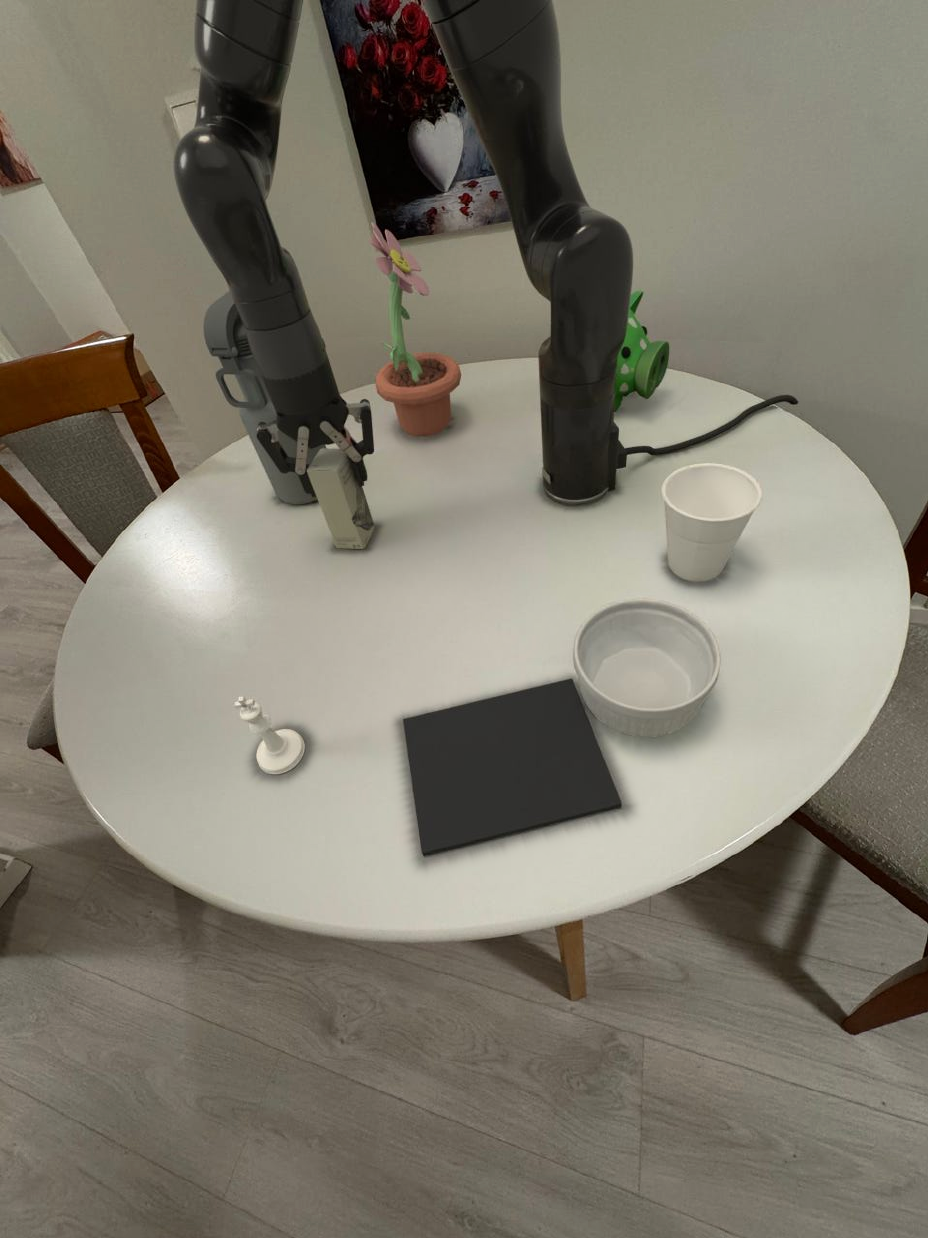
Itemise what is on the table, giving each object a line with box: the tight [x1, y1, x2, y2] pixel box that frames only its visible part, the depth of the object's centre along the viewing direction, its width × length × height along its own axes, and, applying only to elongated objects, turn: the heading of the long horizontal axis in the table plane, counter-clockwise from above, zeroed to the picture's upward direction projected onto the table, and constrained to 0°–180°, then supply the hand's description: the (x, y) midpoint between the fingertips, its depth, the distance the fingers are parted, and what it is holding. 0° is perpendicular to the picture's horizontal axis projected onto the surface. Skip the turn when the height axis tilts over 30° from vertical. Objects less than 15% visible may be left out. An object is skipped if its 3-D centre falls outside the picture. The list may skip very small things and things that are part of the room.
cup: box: [661, 462, 763, 583], centre depth 65 cm, size 10×10×11 cm
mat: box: [402, 678, 623, 857], centre depth 56 cm, size 18×14×1 cm
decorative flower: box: [369, 221, 462, 437], centre depth 88 cm, size 15×14×30 cm
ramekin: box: [572, 598, 722, 738], centre depth 56 cm, size 13×13×7 cm
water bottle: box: [202, 290, 327, 505], centre depth 81 cm, size 10×10×28 cm
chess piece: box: [234, 696, 306, 775], centre depth 56 cm, size 5×5×10 cm
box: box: [307, 447, 376, 550], centre depth 77 cm, size 5×4×13 cm
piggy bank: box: [614, 290, 670, 414], centre depth 91 cm, size 14×18×15 cm
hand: (338, 487), depth 75 cm, fingers closed on box, 5 cm apart
